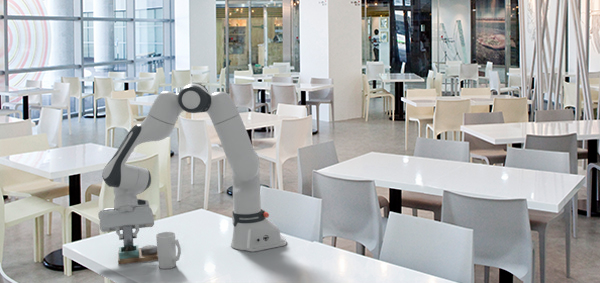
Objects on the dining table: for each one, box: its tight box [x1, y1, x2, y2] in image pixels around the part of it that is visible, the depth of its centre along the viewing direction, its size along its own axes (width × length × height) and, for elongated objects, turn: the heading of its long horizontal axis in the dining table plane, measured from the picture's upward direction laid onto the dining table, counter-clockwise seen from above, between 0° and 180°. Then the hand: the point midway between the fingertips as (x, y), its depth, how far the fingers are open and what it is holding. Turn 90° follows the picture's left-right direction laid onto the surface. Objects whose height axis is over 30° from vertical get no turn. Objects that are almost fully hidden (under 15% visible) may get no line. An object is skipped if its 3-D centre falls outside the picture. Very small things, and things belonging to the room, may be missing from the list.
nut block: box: [117, 244, 158, 265], centre depth 219 cm, size 15×12×4 cm
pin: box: [122, 225, 135, 252], centre depth 217 cm, size 4×4×10 cm
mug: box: [155, 231, 182, 270], centre depth 208 cm, size 10×7×12 cm, turn 60°
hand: (128, 238), depth 216 cm, fingers closed on pin, 4 cm apart
